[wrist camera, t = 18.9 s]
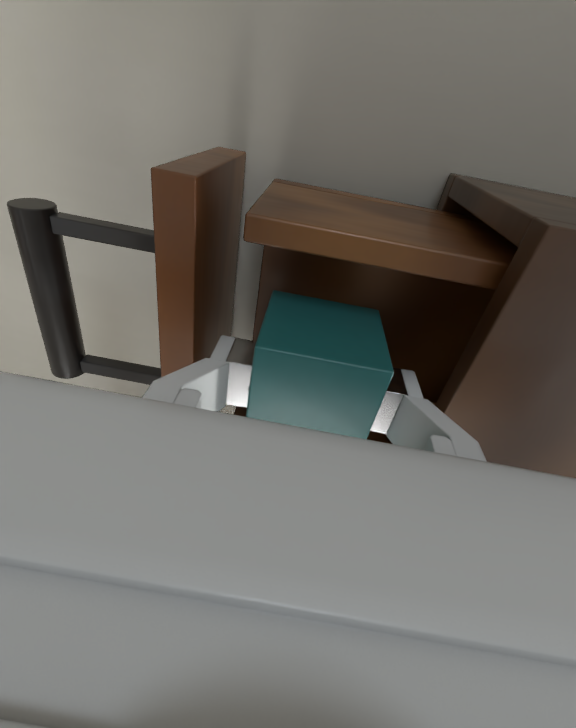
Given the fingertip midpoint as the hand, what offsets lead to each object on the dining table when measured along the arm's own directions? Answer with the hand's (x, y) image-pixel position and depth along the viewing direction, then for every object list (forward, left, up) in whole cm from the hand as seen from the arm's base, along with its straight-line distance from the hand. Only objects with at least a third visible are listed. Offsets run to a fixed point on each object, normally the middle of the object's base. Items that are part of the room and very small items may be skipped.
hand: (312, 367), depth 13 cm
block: (0, 0, -2) cm, 2 cm away
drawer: (0, 0, -6) cm, 6 cm away
